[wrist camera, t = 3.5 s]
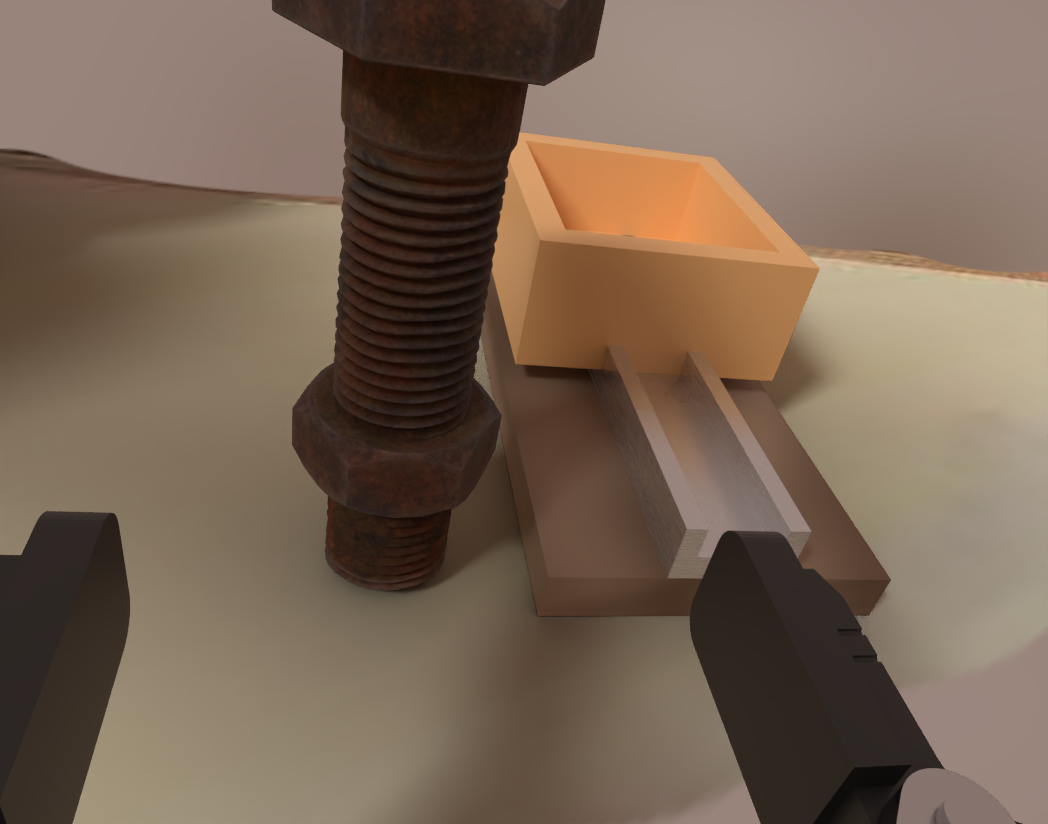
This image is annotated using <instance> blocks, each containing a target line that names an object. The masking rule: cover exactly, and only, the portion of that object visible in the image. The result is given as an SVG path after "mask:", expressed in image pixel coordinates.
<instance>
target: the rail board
mask: <svg viewBox="0 0 1048 824" xmlns="http://www.w3.org/2000/svg"><path fill="white" fill-rule="evenodd" d="M485 304H486V310H485V312H484V313H483V316H484V321H483V324H482V331H481V339H482V343H483V348H484V353H485V358H486V363H487V368H488V373H489V378H490V383H491V388H492V393H493V398H494V403H495V405H496V407H497V408H498V410H499V412H500V413H501V415H502V417H501V422H500V432H501V437H502V442H503V447H504V452H505V457H506V462H507V467H508V472H509V477H510V481H511V486H512V491H513V496H514V501H515V506H516V511H517V516H518V521H519V526H520V531H521V536H522V541H523V546H524V550H525V555H526V560H527V565H528V570H529V575H530V580H531V585H532V590H533V595H534V600H535V605H536V610H537V615H538V616H690V610H691V605H692V601H693V598H694V596H695V594H696V591H697V589H698V587H699V585H700V582H701V580H702V578H667V576H666V573H665V570H664V568H663V565H662V562H661V560H660V557H659V555H658V552H657V549H656V547H655V544H654V541H653V539H652V536H651V533H650V531H649V528H648V526H647V523H646V520H645V518H644V515H643V512H642V510H641V507H640V504H639V502H638V499H637V497H636V494H635V491H634V489H633V486H632V483H631V481H630V478H629V475H628V473H627V470H626V468H625V465H624V462H623V460H622V457H621V454H620V452H619V449H618V446H617V444H616V441H615V439H614V436H613V433H612V431H611V428H610V425H609V423H608V420H607V417H606V415H605V412H604V410H603V407H602V404H601V402H600V399H599V396H598V394H597V391H596V388H595V386H594V383H593V381H592V378H591V375H590V373H589V370H588V369H583V368H568V367H553V366H538V365H523V364H515V360H514V356H513V352H512V348H511V344H510V340H509V336H508V332H507V328H506V324H505V320H504V317H503V313H502V309H501V305H500V301H499V297H498V293H497V289H496V285H495V281H494V277H493V273H492V270H491V272H490V283H489V286H488V296H487V298H486V301H485ZM720 380H721V382H722V383H723V385H724V387H725V388H726V390H727V392H728V393H729V395H730V397H731V398H732V400H733V402H734V403H735V405H736V407H737V408H738V410H739V412H740V413H741V415H742V417H743V418H744V420H745V422H746V423H747V425H748V427H749V428H750V430H751V432H752V433H753V435H754V437H755V438H756V440H757V442H758V443H759V445H760V447H761V448H762V450H763V452H764V453H765V455H766V457H767V458H768V460H769V462H770V463H771V465H772V467H773V468H774V470H775V472H776V473H777V475H778V477H779V478H780V480H781V482H782V483H783V485H784V487H785V488H786V490H787V492H788V493H789V495H790V497H791V498H792V500H793V502H794V503H795V505H796V507H797V508H798V510H799V512H800V513H801V515H802V517H803V518H804V520H805V522H806V523H807V525H808V527H809V528H810V530H811V534H810V536H809V538H808V540H807V542H806V544H805V546H804V547H803V549H802V551H801V553H800V555H799V557H798V560H799V562H800V564H801V565H802V567H803V569H815V570H816V571H817V572H818V573H819V574H820V575H821V576H822V577H823V578H824V579H825V580H826V581H827V582H828V583H829V584H830V585H831V586H832V587H833V588H834V589H835V590H836V591H837V592H839V593H840V594H841V595H842V596H843V598H844V599H845V601H846V603H847V604H848V606H849V608H850V610H851V611H852V613H853V615H869V614H870V612H871V611H872V609H873V607H874V606H875V604H876V603H877V601H878V600H879V598H880V596H881V595H882V593H883V592H884V590H885V588H886V587H887V585H888V584H889V582H890V580H891V579H890V578H889V576H888V575H887V573H886V572H885V570H884V569H883V567H882V566H881V564H880V563H879V561H878V560H877V558H876V557H875V555H874V554H873V552H872V551H871V549H870V548H869V546H868V545H867V543H866V542H865V540H864V539H863V537H862V536H861V534H860V533H859V531H858V530H857V528H856V527H855V525H854V524H853V522H852V521H851V519H850V518H849V516H848V515H847V513H846V512H845V510H844V509H843V507H842V506H841V504H840V503H839V501H838V500H837V498H836V497H835V495H834V494H833V492H832V491H831V489H830V488H829V486H828V485H827V483H826V482H825V480H824V479H823V477H822V476H821V474H820V472H819V471H818V469H817V468H816V466H815V465H814V463H813V462H812V460H811V459H810V457H809V456H808V454H807V453H806V451H805V450H804V448H803V447H802V445H801V444H800V442H799V441H798V439H797V438H796V436H795V435H794V433H793V432H792V430H791V429H790V427H789V426H788V424H787V423H786V421H785V420H784V418H783V417H782V415H781V414H780V412H779V411H778V409H777V408H776V406H775V405H774V403H773V402H772V400H771V399H770V397H769V396H768V394H767V393H766V391H765V390H764V388H763V387H762V385H761V384H760V382H759V381H758V380H748V379H733V378H720Z"/></svg>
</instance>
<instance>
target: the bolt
mask: <svg viewBox="0 0 1048 824" xmlns="http://www.w3.org/2000/svg"><path fill="white" fill-rule="evenodd" d="M604 5H605V0H272V10H273V11H274V12H275V13H277V14H279V15H281V16H283V17H285V18H286V19H288V20H290V21H292V22H294V23H295V24H297V25H299V26H301V27H303V28H304V29H306V30H308V31H310V32H312V33H314V34H315V35H317V36H319V37H321V38H322V39H324V40H326V41H328V42H330V43H331V44H333V45H335V46H337V47H339V48H340V49H342V50H343V69H342V96H341V117H342V121H343V122H344V124H345V139H344V141H345V146H346V147H347V148H346V150H345V154H344V160H345V164H346V167H345V168H344V169H343V176H344V180H345V182H344V186H343V190H342V194H343V197H344V200H343V204H342V208H341V209H342V212H343V219H342V222H341V227H342V230H343V233H342V236H341V245H342V249H341V252H340V257H339V258H340V259H341V261H340V264H339V274H340V276H339V277H338V284H339V290H338V292H337V296H338V300H339V303H338V305H337V312H338V316H337V318H336V328H337V330H336V333H335V340H336V343H335V349H334V350H335V358H334V363H333V364H331V365H329V366H328V367H326V368H325V369H323V370H322V371H321V372H320V373H319V374H318V375H317V376H316V377H315V379H314V380H313V381H312V382H311V383H310V384H309V385H308V386H307V388H306V389H305V391H304V392H303V394H302V395H301V396H300V398H299V399H298V401H297V402H296V404H295V405H294V407H293V415H292V445H293V447H294V449H295V451H296V453H297V454H298V456H299V458H300V460H301V462H302V464H303V465H304V467H305V469H306V470H307V471H308V473H309V474H310V476H311V477H312V478H313V480H314V481H315V482H316V484H317V485H318V486H319V487H320V488H321V489H322V490H323V491H324V492H325V493H326V494H327V495H328V510H327V515H328V522H327V529H326V532H327V534H326V541H325V542H326V548H325V555H326V560H327V562H328V564H329V566H330V567H331V568H332V569H333V570H334V571H335V573H337V574H338V575H340V576H341V577H343V578H344V579H346V580H347V581H348V582H351V583H353V584H355V585H357V586H359V587H363V588H366V589H371V590H378V591H390V590H398V589H403V588H408V587H413V586H416V585H419V584H422V583H423V582H425V581H427V580H429V579H430V578H431V577H432V576H434V575H435V574H436V572H437V571H438V570H439V568H440V566H441V564H442V562H443V560H444V555H445V553H444V552H445V549H446V544H447V542H446V541H447V534H448V528H449V522H450V517H451V510H452V508H455V507H457V506H458V505H459V504H461V503H462V502H463V501H464V500H465V499H466V498H467V497H468V495H469V494H470V493H471V491H472V490H473V489H474V487H475V486H476V484H477V483H478V481H479V479H480V477H481V476H482V474H483V472H484V471H485V469H486V467H487V465H488V463H489V460H490V458H491V456H492V454H493V452H494V450H495V447H496V442H497V437H498V432H499V427H500V422H501V417H502V415H501V413H500V412H499V410H498V408H497V407H496V405H495V404H494V402H493V401H492V399H491V398H490V396H489V395H488V393H487V392H486V391H485V390H484V388H483V387H482V386H481V385H480V384H479V383H478V382H477V381H476V380H475V379H474V378H473V377H474V373H475V364H476V362H477V355H476V353H477V352H478V350H479V339H480V336H481V331H482V324H483V321H484V316H483V313H484V312H485V310H486V304H485V301H486V298H487V296H488V286H489V283H490V272H491V270H492V267H493V262H492V259H493V256H494V253H495V245H494V244H495V242H496V241H497V238H498V233H497V227H498V224H499V221H500V215H501V214H500V211H501V210H502V206H503V198H502V196H503V195H504V194H505V186H506V182H505V181H504V180H505V179H506V178H507V177H508V167H507V165H508V162H509V159H510V155H511V152H512V151H513V149H514V148H515V147H516V145H517V142H518V137H519V132H520V126H521V121H522V115H523V109H524V104H525V99H526V93H527V88H528V84H535V85H542V86H545V85H547V84H549V83H551V82H552V81H554V80H556V79H557V78H559V77H561V76H563V75H564V74H566V73H568V72H569V71H571V70H573V69H574V68H576V67H578V66H580V65H582V64H583V63H585V62H587V61H589V60H590V59H592V58H593V57H594V54H595V49H596V45H597V40H598V35H599V30H600V24H601V19H602V15H603V10H604Z"/></svg>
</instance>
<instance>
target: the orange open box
mask: <svg viewBox="0 0 1048 824" xmlns="http://www.w3.org/2000/svg"><path fill="white" fill-rule="evenodd" d="M507 167H508V177H507V178H506V179H505V180H504V181H505V182H506V186H505V194H504V195H503V196H502V198H503V206H502V210H501V211H500V214H501V215H500V221H499V224H498V227H497V233H498V238H497V241H496V242H495V244H494V245H495V253H494V256H493V259H492V262H493V267H492V273H493V277H494V281H495V285H496V289H497V293H498V297H499V301H500V305H501V309H502V313H503V317H504V320H505V324H506V328H507V332H508V336H509V340H510V344H511V348H512V352H513V356H514V360H515V364H523V365H538V366H553V367H568V368H583V369H598V370H601V367H602V363H603V360H604V356H605V352H606V349H607V345H615V346H625V349H626V351H627V353H628V355H629V357H630V359H631V362H632V364H633V366H634V368H635V370H636V372H643V373H658V374H673V375H680V372H681V369H682V366H683V363H684V360H685V357H686V354H687V351H696V352H704V353H705V355H706V357H707V358H708V360H709V362H710V363H711V365H712V367H713V368H714V370H715V372H716V373H717V375H718V377H719V378H733V379H748V380H763V381H773V378H774V376H775V374H776V371H777V369H778V366H779V364H780V362H781V359H782V357H783V355H784V352H785V350H786V347H787V345H788V343H789V340H790V338H791V336H792V333H793V331H794V328H795V326H796V324H797V321H798V319H799V317H800V314H801V312H802V309H803V307H804V305H805V302H806V300H807V298H808V295H809V293H810V290H811V288H812V286H813V283H814V281H815V279H816V276H817V274H818V271H819V269H820V268H819V267H818V266H817V265H816V264H815V263H814V262H813V261H812V260H811V259H810V258H809V257H808V256H807V255H806V254H805V253H804V252H803V251H802V250H801V249H800V247H799V246H798V245H797V244H796V243H795V242H794V241H793V240H792V239H791V238H790V237H789V236H788V235H787V234H786V233H785V232H784V231H783V230H782V229H781V228H780V226H779V225H778V224H777V223H775V221H774V220H773V219H772V218H771V217H770V216H769V215H768V214H767V213H766V212H765V211H764V210H763V209H762V208H761V207H760V206H759V204H757V203H756V201H755V200H754V199H753V198H752V197H751V196H750V195H749V194H748V193H747V192H746V191H745V190H744V189H743V188H742V187H741V186H740V185H739V184H738V183H737V181H736V180H735V179H734V178H733V177H732V176H731V175H730V174H729V173H728V172H727V171H726V170H725V169H724V168H723V167H722V166H721V165H720V164H719V163H718V161H716V159H715V158H712V157H703V156H696V155H689V154H681V153H674V152H666V151H658V150H651V149H643V148H635V147H628V146H620V145H613V144H605V143H597V142H590V141H582V140H575V139H566V138H559V137H551V136H544V135H536V134H529V133H521V132H519V137H518V142H517V145H516V147H515V148H514V149H513V151H512V152H511V155H510V159H509V162H508V165H507ZM621 234H622V235H627V236H622V235H621ZM628 235H631V236H634V237H629V236H628Z"/></svg>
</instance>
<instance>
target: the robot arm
mask: <svg viewBox="0 0 1048 824" xmlns="http://www.w3.org/2000/svg"><path fill="white" fill-rule="evenodd" d="M129 617H130V596H129V588H128V582H127V575H126V569H125V563H124V556H123V550H122V543H121V537H120V530H119V524H118V520H117V517H116V515H115V514H114V513H94V512H55V511H46V512H44V513H43V514H42V515H41V516H40V518H39V519H38V521H37V523H36V525H35V527H34V529H33V531H32V533H31V535H30V538H29V540H28V542H27V544H26V546H25V548H24V550H23V553H22V555H0V824H72V823H73V820H74V816H75V813H76V810H77V806H78V803H79V799H80V796H81V793H82V789H83V786H84V783H85V779H86V776H87V772H88V769H89V766H90V762H91V759H92V755H93V752H94V749H95V745H96V742H97V739H98V735H99V732H100V728H101V725H102V722H103V718H104V715H105V711H106V708H107V705H108V701H109V698H110V695H111V691H112V688H113V684H114V681H115V678H116V674H117V671H118V667H119V664H120V661H121V657H122V654H123V651H124V647H125V643H126V639H127V633H128V627H129ZM861 630H862V628H861V627H860V625H859V623H858V621H857V620H856V618H855V616H854V615H853V613H852V611H851V610H850V608H849V606H848V604H847V603H846V601H845V599H844V598H843V596H842V595H841V594H840V593H839V592H837V591H836V590H835V589H834V588H833V587H832V586H831V585H830V584H829V583H828V582H827V581H826V580H825V579H824V578H823V577H822V576H821V575H820V574H819V573H818V572H817V571H816V570H815V569H803V567H802V565H801V564H800V562H799V560H798V558H797V556H796V555H795V553H794V551H793V549H792V547H791V546H790V544H789V542H788V540H787V539H786V538H785V537H784V535H782V534H781V533H779V532H770V531H726V532H725V533H723V535H722V536H721V537H720V539H719V541H718V543H717V546H716V548H715V550H714V553H713V555H712V557H711V559H710V562H709V564H708V566H707V569H706V571H705V573H704V575H703V578H702V580H701V582H700V585H699V587H698V589H697V591H696V594H695V596H694V598H693V601H692V605H691V610H690V631H691V637H692V641H693V644H694V647H695V650H696V652H697V655H698V658H699V660H700V663H701V666H702V668H703V671H704V674H705V676H706V679H707V682H708V684H709V687H710V690H711V692H712V695H713V698H714V700H715V703H716V706H717V708H718V711H719V714H720V716H721V719H722V722H723V724H724V727H725V730H726V732H727V735H728V738H729V740H730V743H731V746H732V748H733V751H734V754H735V756H736V759H737V762H738V764H739V767H740V770H741V772H742V775H743V778H744V780H745V783H746V786H747V788H748V791H749V793H750V796H751V799H752V802H753V804H754V807H755V810H756V812H757V815H758V818H759V820H760V823H761V824H1021V823H1018V822H1016V821H1014V820H1013V819H1012V817H1011V816H1010V814H1009V813H1008V812H1007V810H1006V809H1005V808H1004V807H1003V806H1002V805H1001V804H1000V803H999V802H998V800H996V799H995V798H994V797H993V796H992V795H991V794H990V793H989V792H988V791H986V790H985V789H984V788H982V787H981V786H979V785H978V784H976V783H975V782H973V781H971V780H970V779H968V778H966V777H964V776H962V775H959V774H958V773H955V772H951V771H948V770H945V769H944V767H943V766H942V764H941V763H940V761H939V760H938V758H937V757H936V755H935V753H934V751H933V750H932V748H931V746H930V745H929V743H928V741H927V739H926V738H925V736H924V735H923V733H922V731H921V729H920V728H919V726H918V724H917V722H916V721H915V719H914V717H913V716H912V714H911V712H910V710H909V709H908V707H907V705H906V704H905V702H904V700H903V698H902V697H901V695H900V693H899V692H898V690H897V688H896V686H895V685H894V683H893V681H892V680H891V678H890V676H889V674H888V673H887V671H886V669H885V668H884V666H883V664H882V663H881V662H878V661H877V654H876V652H875V651H874V649H873V647H872V645H871V644H870V642H869V640H868V639H867V637H866V635H862V633H861Z"/></svg>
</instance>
